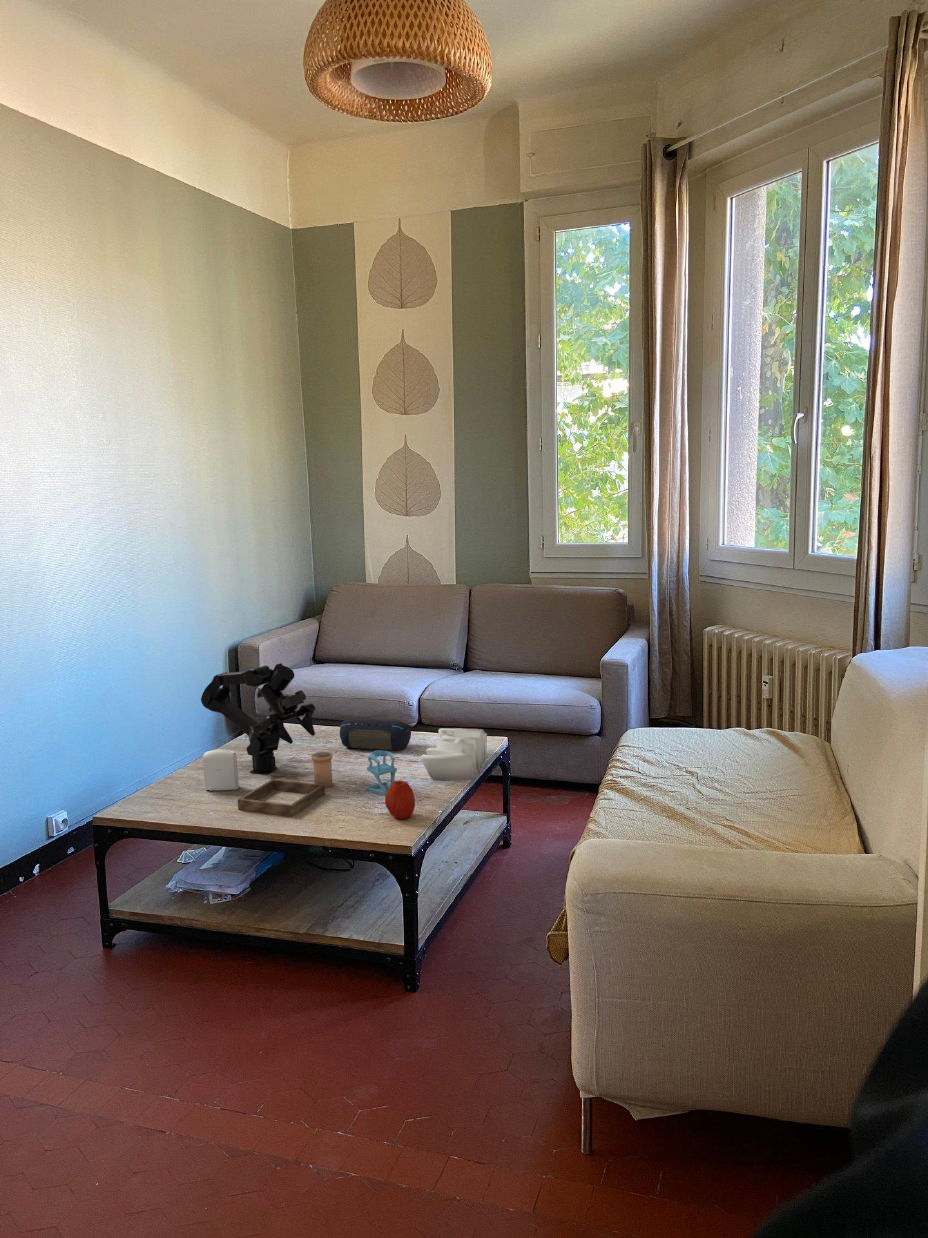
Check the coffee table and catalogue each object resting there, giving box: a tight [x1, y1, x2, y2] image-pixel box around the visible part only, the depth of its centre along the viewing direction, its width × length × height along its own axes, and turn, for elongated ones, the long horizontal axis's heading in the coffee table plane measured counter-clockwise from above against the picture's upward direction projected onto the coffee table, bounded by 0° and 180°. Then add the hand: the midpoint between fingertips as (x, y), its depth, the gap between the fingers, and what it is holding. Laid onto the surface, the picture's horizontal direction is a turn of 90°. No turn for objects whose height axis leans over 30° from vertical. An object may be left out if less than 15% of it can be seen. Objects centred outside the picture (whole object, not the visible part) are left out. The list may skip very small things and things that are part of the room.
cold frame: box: [237, 778, 326, 817], centre depth 259 cm, size 18×18×3 cm
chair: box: [364, 749, 398, 797], centre depth 265 cm, size 8×8×12 cm
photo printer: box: [202, 748, 240, 791], centre depth 271 cm, size 10×4×12 cm, turn 89°
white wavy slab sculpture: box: [419, 727, 488, 782], centre depth 285 cm, size 35×16×10 cm, turn 164°
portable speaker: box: [339, 718, 412, 751], centre depth 307 cm, size 25×10×10 cm, turn 76°
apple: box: [384, 780, 416, 820], centre depth 245 cm, size 8×8×11 cm
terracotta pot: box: [311, 751, 333, 790], centre depth 271 cm, size 6×6×10 cm
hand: (303, 739), depth 274 cm, fingers open, 9 cm apart
